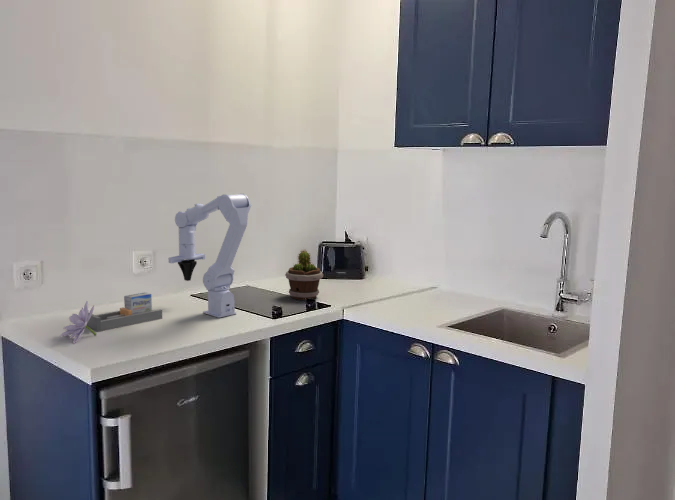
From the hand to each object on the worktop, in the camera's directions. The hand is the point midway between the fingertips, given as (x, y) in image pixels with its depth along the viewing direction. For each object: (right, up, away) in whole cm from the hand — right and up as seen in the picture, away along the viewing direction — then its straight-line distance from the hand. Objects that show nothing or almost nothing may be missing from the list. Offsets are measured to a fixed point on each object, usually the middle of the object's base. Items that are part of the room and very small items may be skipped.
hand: (187, 280), depth 221 cm
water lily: (-24, -16, -39) cm, 48 cm away
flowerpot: (+42, -8, +20) cm, 47 cm away
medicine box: (-12, -13, -17) cm, 25 cm away
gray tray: (-16, -13, -21) cm, 30 cm away
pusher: (-17, -13, -23) cm, 32 cm away
